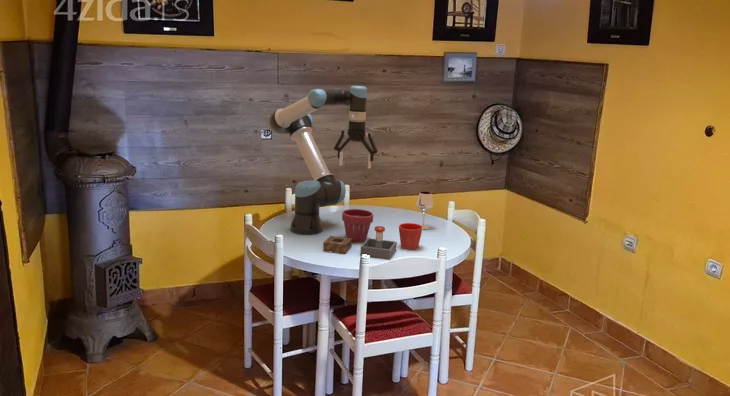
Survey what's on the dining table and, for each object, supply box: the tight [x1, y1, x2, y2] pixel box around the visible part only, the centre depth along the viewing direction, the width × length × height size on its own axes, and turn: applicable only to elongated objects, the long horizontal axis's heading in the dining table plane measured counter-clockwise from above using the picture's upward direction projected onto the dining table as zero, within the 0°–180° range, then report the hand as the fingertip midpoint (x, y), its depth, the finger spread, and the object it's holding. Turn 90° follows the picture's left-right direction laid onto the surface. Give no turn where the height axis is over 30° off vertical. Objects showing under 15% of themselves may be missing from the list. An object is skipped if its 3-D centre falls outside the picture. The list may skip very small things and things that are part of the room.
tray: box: [359, 237, 398, 260], centre depth 264 cm, size 13×13×4 cm
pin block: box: [322, 235, 353, 255], centre depth 266 cm, size 10×10×4 cm
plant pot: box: [341, 208, 374, 243], centre depth 280 cm, size 14×14×13 cm
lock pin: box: [374, 225, 386, 249], centre depth 263 cm, size 4×4×11 cm
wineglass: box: [416, 191, 434, 230], centre depth 304 cm, size 8×8×18 cm
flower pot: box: [398, 222, 423, 250], centre depth 274 cm, size 11×11×10 cm
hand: (355, 166), depth 280 cm, fingers open, 13 cm apart
